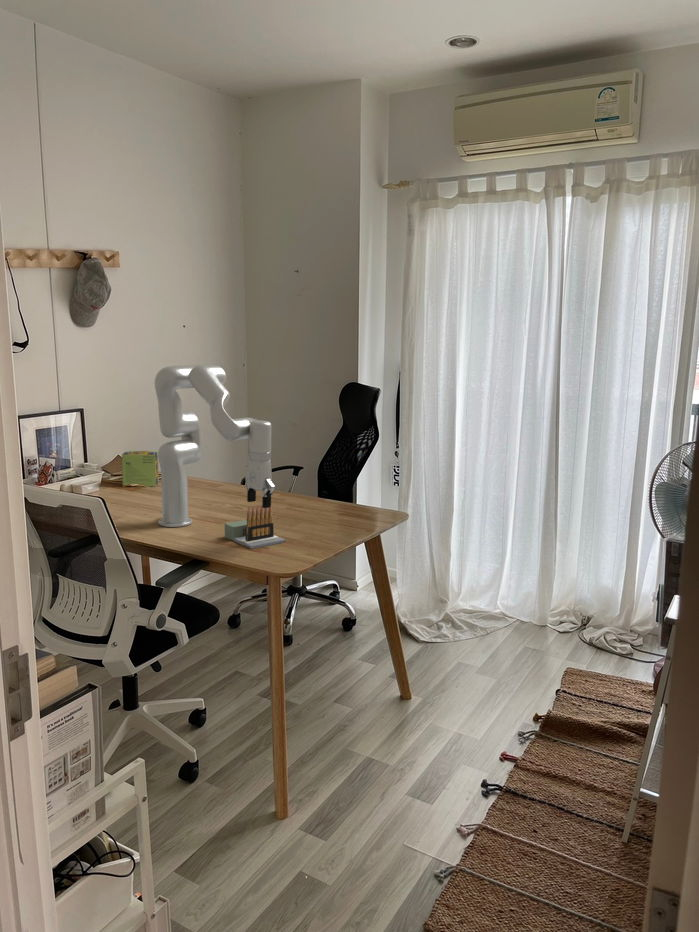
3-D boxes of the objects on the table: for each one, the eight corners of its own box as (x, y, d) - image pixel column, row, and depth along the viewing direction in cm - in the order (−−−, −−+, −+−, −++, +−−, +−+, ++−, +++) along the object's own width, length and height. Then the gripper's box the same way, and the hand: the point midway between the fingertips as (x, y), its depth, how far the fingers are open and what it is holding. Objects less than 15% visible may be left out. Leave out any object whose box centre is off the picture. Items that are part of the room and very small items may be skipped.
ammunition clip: (270, 535, 264) (271, 502, 262) (273, 536, 263) (274, 503, 260) (245, 540, 257) (245, 506, 255) (248, 541, 256) (248, 507, 254)
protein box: (156, 487, 344) (155, 454, 341) (122, 487, 342) (121, 454, 339) (159, 482, 354) (158, 450, 351) (126, 482, 352) (125, 450, 349)
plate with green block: (224, 536, 265) (224, 523, 264) (257, 530, 274) (257, 517, 273) (251, 549, 252) (251, 534, 251) (285, 542, 260) (285, 528, 259)
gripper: (237, 453, 259) (236, 500, 262) (264, 461, 246) (263, 511, 249) (255, 451, 263) (254, 498, 267) (283, 459, 250) (281, 508, 254)
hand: (258, 504), depth 258 cm, fingers open, 9 cm apart
